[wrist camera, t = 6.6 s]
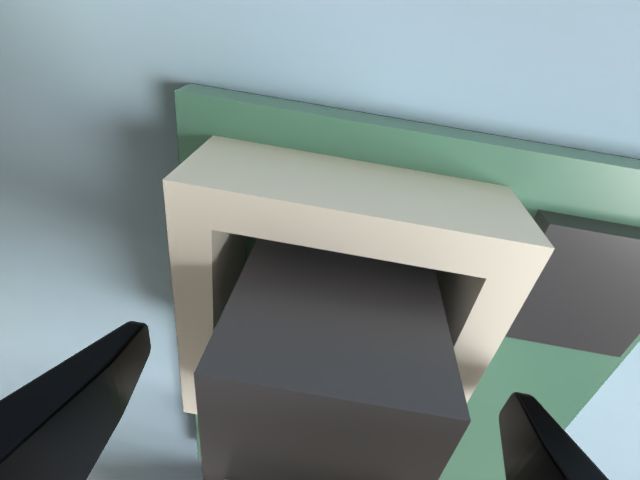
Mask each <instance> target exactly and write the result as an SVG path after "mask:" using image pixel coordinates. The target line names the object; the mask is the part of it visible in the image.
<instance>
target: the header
mask: <svg viewBox="0 0 640 480" xmlns="http://www.w3.org/2000/svg"><path fill="white" fill-rule="evenodd" d="M163 190H164V201H165V212H166V223H167V234H168V245H169V256H170V267H171V278H172V289H173V300H174V311H175V321H176V332H177V343H178V354H179V365H180V376H181V387H182V398H183V409H184V412H186V413H191V414H197V405H196V394H195V384H194V372H195V370H196V368H197V366H198V363H199V361H200V359H201V357H202V355H203V353H204V351H205V348H206V346H207V344H208V342H209V340H210V338H211V336H212V334H213V331H214V329H215V327H216V325H217V323H218V321H219V319H220V317H221V314H222V312H223V310H224V308H225V306H226V304H227V302H228V300H229V297H230V295H231V293H232V291H233V289H234V287H235V285H236V283H237V280H238V278H239V276H240V274H241V272H242V270H243V268H244V266H245V249H246V236H249V237H255V238H260V239H266V240H272V241H277V242H283V243H289V244H294V245H300V246H305V247H311V248H317V249H322V250H328V251H334V252H339V253H345V254H350V255H356V256H362V257H367V258H373V259H379V260H384V261H390V262H396V263H401V264H407V265H412V266H418V267H424V268H429V269H435V270H437V272H436V276H437V280H438V285H439V289H440V293H441V297H442V301H443V306H444V310H445V314H446V318H447V322H448V327H449V331H450V335H451V339H452V343H453V348H454V352H455V356H456V360H457V364H458V369H459V373H460V377H461V381H462V385H463V390H464V394H465V398H466V402H468V401H469V399H470V397H471V395H472V394H473V392H474V390H475V388H476V386H477V385H478V383H479V381H480V379H481V378H482V376H483V374H484V372H485V371H486V369H487V367H488V365H489V364H490V362H491V360H492V358H493V357H494V355H495V353H496V351H497V350H498V348H499V346H500V344H501V342H502V341H503V339H504V337H505V335H506V334H507V332H508V330H509V328H510V327H511V325H512V323H513V321H514V320H515V318H516V316H517V314H518V313H519V311H520V309H521V307H522V306H523V304H524V302H525V300H526V299H527V297H528V295H529V293H530V291H531V290H532V288H533V286H534V284H535V283H536V281H537V279H538V277H539V276H540V274H541V272H542V270H543V269H544V267H545V265H546V263H547V262H548V260H549V258H550V256H551V255H552V253H553V251H554V249H555V248H554V247H553V245H552V244H551V242H550V241H549V240H548V238H547V237H546V236H545V234H544V233H543V232H542V230H541V229H540V228H539V226H538V225H537V223H536V222H535V221H534V219H533V218H532V217H531V215H530V214H529V213H528V211H527V210H526V209H525V207H524V206H523V204H522V203H521V202H520V200H519V199H518V198H517V196H516V195H515V194H514V192H513V191H512V190H511V188H510V187H509V186H504V185H498V184H492V183H486V182H481V181H475V180H469V179H463V178H457V177H452V176H446V175H440V174H434V173H428V172H423V171H417V170H411V169H405V168H399V167H394V166H388V165H382V164H376V163H370V162H365V161H359V160H353V159H347V158H342V157H336V156H330V155H324V154H318V153H313V152H307V151H301V150H295V149H289V148H284V147H278V146H272V145H266V144H260V143H255V142H249V141H243V140H237V139H232V138H226V137H220V136H214V135H213V136H212V137H211V138H210V139H208V140H207V141H206V142H205V143H204V144H203V145H202V146H200V147H199V148H198V149H197V150H196V151H195V152H194V153H192V154H191V155H190V156H189V157H188V158H187V159H186V160H184V161H183V162H182V163H181V164H180V165H179V166H178V167H176V168H175V169H174V170H173V171H172V172H171V173H170V174H168V175H167V176H166V177H165V178H164V179H163Z"/></svg>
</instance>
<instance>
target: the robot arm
mask: <svg viewBox="0 0 640 480" xmlns="http://www.w3.org/2000/svg"><path fill="white" fill-rule="evenodd" d="M150 350H151V344H150V337H149V330H148V326H147V325H146V324H145V323H140V322H135V321H129V322H127V323H125V324H123V325H122V326H120V327H119V328H117V329H115V330H114V331H112V332H110V333H109V334H107V335H106V336H104V337H102V338H101V339H99V340H97V341H96V342H94V343H93V344H91V345H89V346H88V347H86V348H85V349H83V350H81V351H80V352H78V353H76V354H75V355H73V356H72V357H70V358H68V359H67V360H65V361H63V362H62V363H60V364H59V365H57V366H55V367H54V368H52V369H50V370H49V371H47V372H46V373H44V374H42V375H41V376H39V377H37V378H36V379H34V380H33V381H31V382H29V383H28V384H26V385H25V386H23V387H21V388H20V389H18V390H16V391H15V392H13V393H12V394H10V395H8V396H7V397H5V398H3V399H2V400H0V480H86V479H87V477H88V475H89V474H90V472H91V470H92V468H93V467H94V465H95V463H96V461H97V460H98V458H99V456H100V454H101V452H102V451H103V449H104V447H105V445H106V444H107V442H108V440H109V438H110V437H111V435H112V433H113V431H114V430H115V428H116V426H117V424H118V423H119V421H120V419H121V417H122V415H123V413H124V411H125V409H126V407H127V405H128V402H129V400H130V398H131V395H132V393H133V391H134V389H135V386H136V384H137V382H138V379H139V377H140V375H141V373H142V370H143V368H144V366H145V363H146V361H147V359H148V357H149V354H150ZM499 428H500V436H501V444H502V452H503V460H504V468H505V476H506V480H609V479H608V478H607V477H606V476H605V475H604V474H603V473H602V472H601V470H600V469H599V468H598V467H597V466H596V465H595V464H594V463H593V462H592V460H591V459H590V458H589V457H588V456H587V455H586V454H585V453H584V452H583V451H582V449H581V448H580V447H579V446H578V445H577V444H576V443H575V442H574V441H573V439H572V438H571V437H570V436H569V435H568V434H567V433H566V432H565V431H564V429H563V428H562V427H561V426H560V425H559V424H558V423H557V422H556V421H555V419H554V418H553V417H552V416H551V415H550V414H549V413H548V412H547V411H546V410H545V408H544V407H543V406H542V405H541V404H540V403H539V402H538V401H537V400H536V398H534V397H533V396H532V395H530V394H525V393H520V392H514V393H512V394H511V395H510V397H509V398H508V400H507V401H506V403H505V404H504V406H503V407H502V409H501V411H500V413H499Z"/></svg>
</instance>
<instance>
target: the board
mask: <svg viewBox="0 0 640 480" xmlns="http://www.w3.org/2000/svg"><path fill="white" fill-rule="evenodd" d="M174 93H175V109H176V124H177V140H178V155H179V165H180V164H181V163H182V162H183V161H184V160H186V159H187V158H188V157H189V156H190V155H191V154H192V153H194V152H195V151H196V150H197V149H198V148H199V147H200V146H202V145H203V144H204V143H205V142H206V141H207V140H208V139H210V138H211V137H212V136H213V135H214V136H220V137H226V138H232V139H237V140H243V141H249V142H255V143H260V144H266V145H272V146H278V147H284V148H289V149H295V150H301V151H307V152H313V153H318V154H324V155H330V156H336V157H342V158H347V159H353V160H359V161H365V162H370V163H376V164H382V165H388V166H394V167H399V168H405V169H411V170H417V171H423V172H428V173H434V174H440V175H446V176H452V177H457V178H463V179H469V180H475V181H481V182H486V183H492V184H498V185H504V186H509V187H510V188H511V190H512V191H513V192H514V194H515V195H516V196H517V198H518V199H519V200H520V202H521V203H522V204H523V206H524V207H525V209H526V210H527V211H528V213H529V214H530V215H531V217H532V218H533V219H534V221H535V222H536V223H537V225H538V226H539V228H540V229H541V230H542V232H543V233H544V234H545V236H546V237H547V238H548V240H549V241H550V242H551V244H552V245H553V247H554V248H555V249H554V251H553V253H552V255H551V256H550V258H549V260H548V262H547V263H546V265H545V267H544V269H543V270H542V272H541V274H540V276H539V277H538V279H537V281H536V283H535V284H534V286H533V288H532V290H531V291H530V293H529V295H528V297H527V299H526V300H525V302H524V304H523V306H522V307H521V309H520V311H519V313H518V314H517V316H516V318H515V320H514V321H513V323H512V325H511V327H510V328H509V330H508V332H507V334H506V335H505V337H504V339H503V341H502V342H501V344H500V346H499V348H498V350H497V351H496V353H495V355H494V357H493V358H492V360H491V362H490V364H489V365H488V367H487V369H486V371H485V372H484V374H483V376H482V378H481V379H480V381H479V383H478V385H477V386H476V388H475V390H474V392H473V394H472V395H471V397H470V399H469V401H468V402H467V406H468V411H469V415H470V419H471V422H470V424H469V426H468V428H467V430H466V431H465V433H464V435H463V437H462V438H461V440H460V442H459V444H458V445H457V447H456V449H455V451H454V453H453V454H452V456H451V458H450V460H449V461H448V463H447V465H446V467H445V468H444V470H443V472H442V474H441V476H440V477H439V479H438V480H506V476H505V468H504V460H503V452H502V444H501V436H500V428H499V413H500V411H501V409H502V407H503V406H504V404H505V403H506V401H507V400H508V398H509V397H510V395H511V394H512V393H514V392H520V393H525V394H530V395H532V396H533V397H534V398H536V400H537V401H538V402H539V403H540V404H541V405H542V406H543V407H544V408H545V410H546V411H547V412H548V413H549V414H550V415H551V416H552V417H553V418H554V419H555V421H556V422H557V423H558V424H559V425H560V426H561V427H562V428H563V429H564V430H565V428H566V427H567V426H568V425H569V424H570V423H571V421H572V420H573V419H574V418H575V417H576V415H577V414H578V413H579V412H580V411H581V410H582V408H583V407H584V406H585V405H586V404H587V402H588V401H589V400H590V399H591V398H592V397H593V395H594V394H595V393H596V392H597V391H598V389H599V388H600V387H601V386H602V385H603V384H604V382H605V381H606V380H607V379H608V378H609V376H610V375H611V374H612V373H613V372H614V371H615V369H616V368H617V367H618V366H619V365H620V363H621V362H622V361H623V360H624V359H625V358H626V356H627V355H628V354H629V353H630V352H631V351H632V349H633V348H634V347H635V346H636V345H637V343H638V342H639V341H640V160H638V159H633V158H627V157H621V156H615V155H609V154H603V153H597V152H591V151H586V150H580V149H574V148H568V147H562V146H556V145H550V144H544V143H539V142H533V141H527V140H521V139H515V138H509V137H503V136H498V135H492V134H486V133H480V132H474V131H468V130H462V129H456V128H451V127H445V126H439V125H433V124H427V123H421V122H415V121H409V120H404V119H398V118H392V117H386V116H380V115H374V114H368V113H362V112H357V111H351V110H345V109H339V108H333V107H327V106H321V105H315V104H310V103H304V102H298V101H292V100H286V99H280V98H274V97H268V96H263V95H257V94H251V93H245V92H239V91H233V90H227V89H221V88H216V87H210V86H204V85H198V84H192V83H189V84H187V85H185V86H183V87H180V88H178V89H176V90H174ZM256 240H257V238H255V237H249V236H246V249H245V263H246V261H247V259H248V257H249V255H250V253H251V251H252V249H253V246H254V244H255V242H256ZM435 272H437V270H435ZM195 418H196V433H197V449H198V460H202V458H201V448H200V437H199V426H198V416H197V414H195Z"/></svg>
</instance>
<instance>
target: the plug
mask: <svg viewBox="0 0 640 480" xmlns="http://www.w3.org/2000/svg"><path fill="white" fill-rule="evenodd" d="M194 384H195V394H196V405H197V416H198V426H199V437H200V448H201V458H202V469H203V480H438V479H439V477H440V476H441V474H442V472H443V470H444V468H445V467H446V465H447V463H448V461H449V460H450V458H451V456H452V454H453V453H454V451H455V449H456V447H457V445H458V444H459V442H460V440H461V438H462V437H463V435H464V433H465V431H466V430H467V428H468V426H469V424H470V422H471V419H470V415H469V411H468V406H467V402H466V398H465V394H464V390H463V385H462V381H461V377H460V373H459V369H458V364H457V360H456V356H455V352H454V348H453V343H452V339H451V335H450V331H449V327H448V322H447V318H446V314H445V310H444V306H443V301H442V297H441V293H440V289H439V285H438V280H437V276H436V272H435V269H429V268H424V267H418V266H412V265H407V264H401V263H396V262H390V261H384V260H379V259H373V258H367V257H362V256H356V255H350V254H345V253H339V252H334V251H328V250H322V249H317V248H311V247H305V246H300V245H294V244H289V243H283V242H277V241H272V240H266V239H260V238H257V240H256V242H255V244H254V246H253V249H252V251H251V253H250V255H249V257H248V259H247V261H246V263H245V266H244V268H243V270H242V272H241V274H240V276H239V278H238V280H237V283H236V285H235V287H234V289H233V291H232V293H231V295H230V297H229V300H228V302H227V304H226V306H225V308H224V310H223V312H222V314H221V317H220V319H219V321H218V323H217V325H216V327H215V329H214V331H213V334H212V336H211V338H210V340H209V342H208V344H207V346H206V348H205V351H204V353H203V355H202V357H201V359H200V361H199V363H198V366H197V368H196V370H195V372H194Z"/></svg>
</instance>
